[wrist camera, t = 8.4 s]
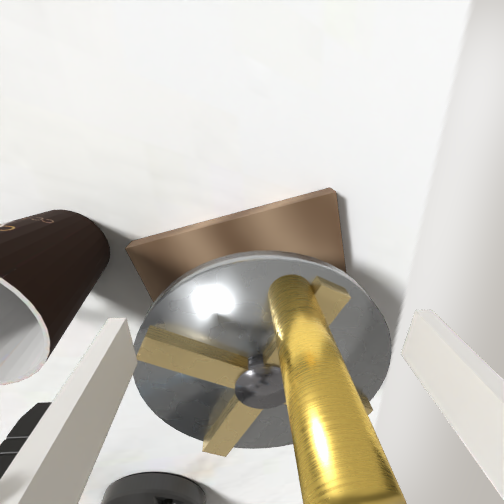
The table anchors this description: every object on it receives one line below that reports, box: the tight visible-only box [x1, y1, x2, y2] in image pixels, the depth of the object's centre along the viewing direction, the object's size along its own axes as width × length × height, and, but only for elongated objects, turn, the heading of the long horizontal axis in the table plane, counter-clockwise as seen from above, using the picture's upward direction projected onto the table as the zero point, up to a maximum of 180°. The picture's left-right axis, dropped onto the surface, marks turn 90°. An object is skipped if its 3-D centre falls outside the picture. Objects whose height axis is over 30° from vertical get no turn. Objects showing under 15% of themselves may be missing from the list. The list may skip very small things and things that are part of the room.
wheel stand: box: [125, 188, 346, 302], centre depth 23 cm, size 17×19×6 cm
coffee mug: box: [0, 210, 110, 385], centre depth 18 cm, size 12×9×10 cm
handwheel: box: [133, 250, 406, 504], centre depth 15 cm, size 18×18×12 cm
